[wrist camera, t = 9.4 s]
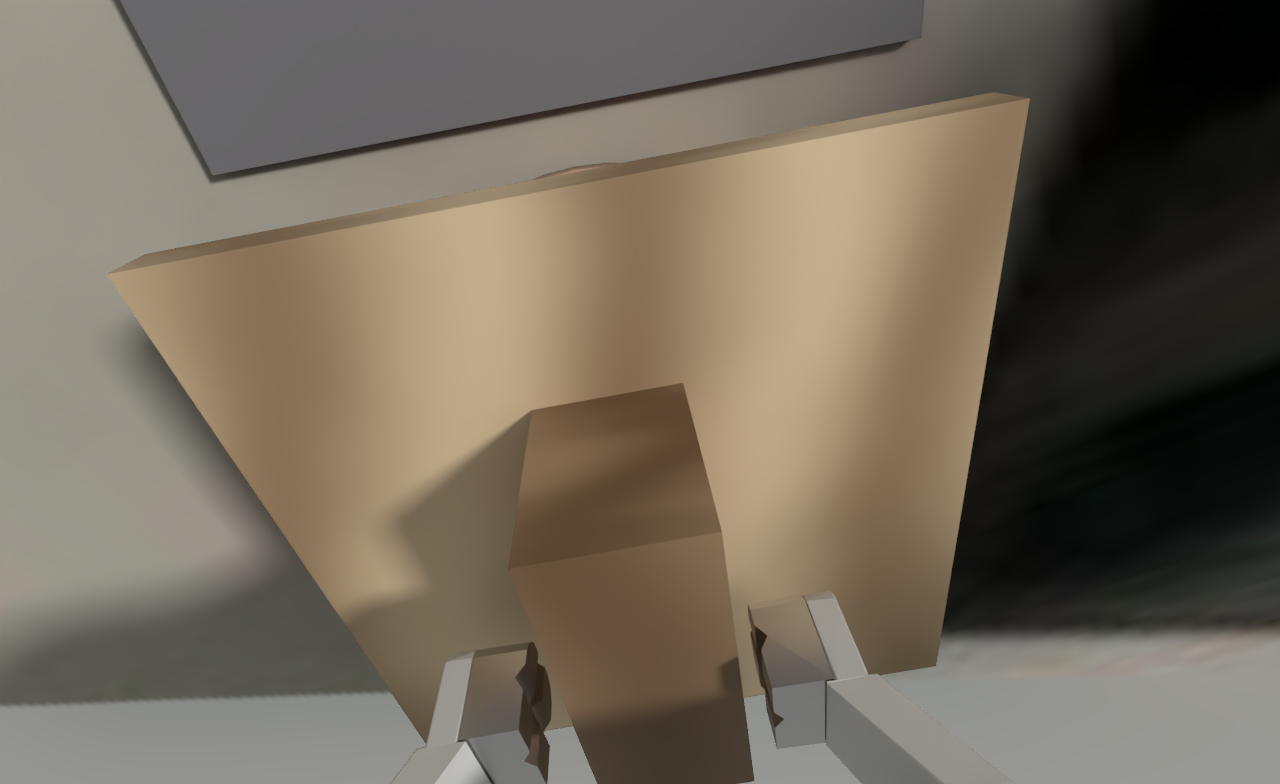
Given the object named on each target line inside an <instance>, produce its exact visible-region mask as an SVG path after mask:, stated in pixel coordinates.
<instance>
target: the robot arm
mask: <svg viewBox="0 0 1280 784" xmlns="http://www.w3.org/2000/svg"><path fill="white" fill-rule="evenodd" d="M748 617H749V621H750V625H751V629H752V631H751V632H750V636H751V643H752V649H753V655H754V660H755V665H756V669H757V673H758V677H759V681H760V685H761V687H762V688H764V689H765V697H766V706H767V712H768V716H769V720H770V724H771V728H772V731H773V735H774V739H775V743H776V746H777V749H779V748H787V747H795V746H802V745H809V744H817V743H824V742H826V745H827V746H828V747H829V748H830V749H831V751H832V752H834V754H835V755H836V756H837V757H838V758H839V759H840V760H841V761H842V763H843V764H844V765H845V766H846V767H847V768H848V769H849V770H850V771H851V772H852V773H853V774H854V775H855V777H856V778H857V779H858V780H859V781H860V782H861V783H862V784H1014V783H1013V782H1012V780H1010V779H1009V778H1008V777H1007V776H1005V775H1004V774H1003V773H1002V772H1000V771H999V770H998V769H996V768H995V767H994V766H993V765H992V764H990V763H989V762H988V761H987V760H985V759H984V758H983V757H982V756H980V755H979V754H978V753H977V752H975V751H974V750H973V749H972V748H970V747H969V746H968V745H966V744H965V743H964V742H963V741H961V740H960V739H959V738H958V737H956V736H955V735H954V734H953V733H951V732H950V731H949V730H948V729H946V728H945V727H944V726H943V725H941V724H940V723H939V722H937V721H936V720H935V719H934V718H933V717H931V716H930V715H929V714H928V713H926V712H925V711H924V710H923V709H921V708H920V707H919V706H918V705H916V704H915V703H914V702H913V701H911V700H910V699H909V698H907V697H906V696H905V695H904V694H902V693H901V692H900V691H899V690H897V689H896V688H895V687H894V686H892V685H891V684H890V683H889V682H887V681H886V680H885V679H884V678H882V677H881V676H880V675H879V674H877V673H876V674H868V672H867V670H866V667H865V665H864V663H863V660H862V658H861V656H860V653H859V651H858V649H857V647H856V644H855V642H854V640H853V637H852V635H851V633H850V630H849V628H848V626H847V623H846V621H845V619H844V616H843V614H842V612H841V609H840V607H839V605H838V602H837V600H836V598H835V596H834V594H833V593H832V592H831V591H829V590H828V591H823V592H817V593H812V594H807V595H802V596H801V595H796V596H790V597H785V598H780V599H774V600H769V601H763V602H758V603H753V604H748ZM551 710H552V700H551V687H550V682H549V678H548V674H547V672H546V669H545V667H544V666H542V665H540V664H538V651H537V648H536V646H535V644H534V642H527V643H520V644H514V645H507V646H500V647H493V648H487V649H480V650H472V651H466V652H460V653H454V654H450V655H449V657H448V659H447V661H446V663H445V665H444V669H443V674H442V678H441V682H440V687H439V691H438V695H437V699H436V704H435V708H434V712H433V717H432V721H431V725H430V730H429V734H428V738H427V743H426V747H424V748H419V749H417V750H416V752H414V754H413V755H412V756H411V758H410V759H409V760H408V761H407V763H406V764H405V765H404V767H403V768H402V769H401V770H400V772H399V773H398V774H397V775H396V777H395V778H394V779H393V781H392V782H391V783H390V784H547V780H548V764H549V747H550V746H549V744H548V741H547V739H546V737H545V735H544V733H543V732H544V730H545V729H546V727H547V726H548V724H549V723H550V721H551Z"/></svg>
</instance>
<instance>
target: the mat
mask: <svg viewBox="0 0 1280 784" xmlns="http://www.w3.org/2000/svg"><path fill="white" fill-rule="evenodd" d="M120 2H121V4H122V5H123V7H124V9H125V11H126V13H127V15H128V17H129V19H130V20H131V22H132V24H133V26H134V28H135V30H136V32H137V34H138V36H139V37H140V39H141V41H142V43H143V45H144V47H145V49H146V51H147V52H148V54H149V56H150V58H151V60H152V62H153V64H154V66H155V68H156V69H157V71H158V73H159V75H160V77H161V79H162V81H163V83H164V85H165V86H166V88H167V90H168V92H169V94H170V96H171V98H172V100H173V101H174V103H175V105H176V107H177V109H178V111H179V113H180V115H181V117H182V118H183V120H184V122H185V124H186V126H187V128H188V130H189V132H190V133H191V135H192V137H193V139H194V141H195V143H196V145H197V147H198V149H199V150H200V152H201V154H202V156H203V158H204V160H205V162H206V164H207V166H208V167H209V169H210V171H211V173H212V175H218V174H223V173H228V172H233V171H238V170H243V169H249V168H254V167H259V166H264V165H269V164H274V163H280V162H285V161H290V160H295V159H300V158H305V157H310V156H316V155H321V154H326V153H331V152H336V151H341V150H346V149H352V148H357V147H362V146H367V145H372V144H377V143H382V142H388V141H393V140H398V139H403V138H408V137H413V136H418V135H424V134H429V133H434V132H439V131H444V130H449V129H454V128H460V127H465V126H470V125H475V124H480V123H485V122H490V121H496V120H501V119H506V118H511V117H516V116H521V115H526V114H532V113H537V112H542V111H547V110H552V109H557V108H562V107H568V106H573V105H578V104H583V103H588V102H593V101H598V100H604V99H609V98H614V97H619V96H624V95H629V94H634V93H640V92H645V91H650V90H655V89H660V88H665V87H670V86H676V85H681V84H686V83H691V82H696V81H701V80H707V79H712V78H717V77H722V76H727V75H732V74H737V73H743V72H748V71H753V70H758V69H763V68H768V67H773V66H779V65H784V64H789V63H794V62H799V61H804V60H809V59H815V58H820V57H825V56H830V55H835V54H840V53H845V52H851V51H856V50H861V49H866V48H871V47H876V46H881V45H887V44H892V43H897V42H902V41H907V40H912V39H917V38H921V33H922V19H923V6H924V0H120Z"/></svg>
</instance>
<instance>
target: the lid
mask: <svg viewBox="0 0 1280 784" xmlns="http://www.w3.org/2000/svg"><path fill="white" fill-rule="evenodd" d="M1029 102H1030V98H1025V97H1019V96H1013V95H1007V94H1001V93H995V92H991V93H986V94H981V95H976V96H970V97H965V98H960V99H955V100H949V101H944V102H939V103H934V104H928V105H923V106H918V107H913V108H908V109H902V110H897V111H892V112H887V113H881V114H876V115H871V116H866V117H860V118H855V119H850V120H845V121H840V122H834V123H829V124H824V125H819V126H813V127H808V128H803V129H798V130H792V131H787V132H782V133H777V134H772V135H766V136H761V137H756V138H751V139H745V140H740V141H735V142H730V143H725V144H719V145H714V146H709V147H704V148H698V149H693V150H688V151H683V152H677V153H672V154H667V155H662V156H657V157H651V158H646V159H641V160H636V161H630V162H625V163H620V164H615V165H609V166H604V167H599V168H594V169H589V170H583V171H578V172H573V173H568V174H562V175H557V176H552V177H547V178H541V179H536V180H531V181H526V182H521V183H515V184H510V185H505V186H500V187H494V188H489V189H484V190H479V191H473V192H468V193H463V194H458V195H453V196H447V197H442V198H437V199H432V200H426V201H421V202H416V203H411V204H405V205H400V206H395V207H390V208H385V209H379V210H374V211H369V212H364V213H358V214H353V215H348V216H343V217H337V218H332V219H327V220H322V221H317V222H311V223H306V224H301V225H296V226H290V227H285V228H280V229H275V230H269V231H264V232H259V233H254V234H249V235H243V236H238V237H233V238H228V239H222V240H217V241H212V242H207V243H201V244H196V245H191V246H186V247H181V248H175V249H170V250H165V251H160V252H154V253H149V254H145V255H143V256H141V257H139V258H137V259H135V260H133V261H131V262H129V263H127V264H125V265H123V266H122V267H120V268H118V269H116V270H114V271H112V272H110V273H108V274H106V275H107V276H108V278H109V279H110V281H111V282H112V284H113V285H114V286H115V288H116V289H117V291H118V292H119V294H120V295H121V297H122V298H123V300H124V301H125V303H126V304H127V306H128V307H129V308H130V310H131V311H132V313H133V314H134V316H135V317H136V319H137V320H138V322H139V323H140V325H141V326H142V328H143V329H144V330H145V332H146V333H147V335H148V336H149V338H150V339H151V341H152V342H153V344H154V345H155V347H156V348H157V350H158V351H159V353H160V354H161V355H162V357H163V358H164V360H165V361H166V363H167V364H168V366H169V367H170V369H171V370H172V372H173V373H174V375H175V376H176V377H177V379H178V380H179V382H180V383H181V385H182V386H183V388H184V389H185V391H186V392H187V394H188V395H189V397H190V398H191V399H192V401H193V402H194V404H195V405H196V407H197V408H198V410H199V411H200V413H201V414H202V416H203V417H204V419H205V420H206V421H207V423H208V424H209V426H210V427H211V429H212V430H213V432H214V433H215V435H216V436H217V438H218V439H219V441H220V442H221V443H222V445H223V446H224V448H225V449H226V451H227V452H228V454H229V455H230V457H231V458H232V460H233V461H234V463H235V464H236V465H237V467H238V468H239V470H240V471H241V473H242V474H243V476H244V477H245V479H246V480H247V482H248V483H249V485H250V486H251V488H252V489H253V490H254V492H255V493H256V495H257V496H258V498H259V499H260V501H261V502H262V504H263V505H264V507H265V508H266V510H267V511H268V512H269V514H270V515H271V517H272V518H273V520H274V521H275V523H276V524H277V526H278V527H279V529H280V530H281V532H282V533H283V534H284V536H285V537H286V539H287V540H288V542H289V543H290V545H291V546H292V548H293V549H294V551H295V552H296V554H297V555H298V556H299V558H300V559H301V561H302V562H303V564H304V565H305V567H306V568H307V570H308V571H309V573H310V574H311V576H312V577H313V578H314V580H315V581H316V583H317V584H318V586H319V587H320V589H321V590H322V592H323V593H324V595H325V596H326V598H327V599H328V601H329V602H330V603H331V605H332V606H333V608H334V609H335V611H336V612H337V614H338V615H339V617H340V618H341V620H342V621H343V623H344V624H345V625H346V627H347V628H348V630H349V631H350V633H351V634H352V636H353V637H354V639H355V640H356V642H357V643H358V645H359V646H360V647H361V649H362V650H363V652H364V653H365V655H366V656H367V658H368V659H369V661H370V662H371V664H372V665H373V667H374V668H375V669H376V671H377V672H378V674H379V675H380V677H381V678H382V680H383V681H384V683H385V684H386V686H387V687H388V689H389V690H390V691H391V693H392V694H393V696H394V697H395V699H396V700H397V702H398V703H399V705H400V706H401V708H402V709H403V711H404V712H405V714H406V715H407V716H408V718H409V719H410V721H411V722H412V724H413V725H414V727H415V728H416V730H417V731H418V733H419V734H420V736H421V737H422V738H423V740H424V741H425V743H427V738H428V734H429V730H430V725H431V721H432V717H433V712H434V708H435V704H436V699H437V695H438V691H439V687H440V682H441V678H442V674H443V669H444V665H445V663H446V661H447V659H448V657H449V655H450V654H454V653H460V652H466V651H472V650H480V649H487V648H493V647H500V646H507V645H514V644H520V643H527V642H534V644H535V646H536V648H537V651H538V664H540V665H542V666H544V667H545V669H546V672H547V674H548V678H549V682H550V687H551V700H552V710H551V721H550V723H549V724H548V726H547V727H546V729H545V730H544V731H546V730H552V729H558V728H564V727H570V726H574V729H575V731H576V733H577V736H578V738H579V741H580V743H581V745H582V748H583V750H584V753H585V755H586V757H587V760H588V762H589V765H590V767H591V769H592V772H593V774H594V776H595V779H596V781H597V784H738V783H744V782H751V781H754V775H753V768H752V760H751V752H750V744H749V737H748V729H747V722H746V714H745V706H744V699H743V698H745V697H751V696H757V695H763V694H765V689H764V688H762V687H761V685H760V681H759V677H758V673H757V669H756V665H755V660H754V655H753V649H752V643H751V636H750V632H751V631H752V629H751V625H750V621H749V617H748V604H753V603H758V602H763V601H769V600H774V599H780V598H785V597H790V596H796V595H801V596H802V595H807V594H812V593H817V592H823V591H828V590H829V591H831V592H832V593H833V594H834V596H835V598H836V600H837V602H838V605H839V607H840V609H841V612H842V614H843V616H844V619H845V621H846V623H847V626H848V628H849V630H850V633H851V635H852V637H853V640H854V642H855V644H856V647H857V649H858V651H859V653H860V656H861V658H862V660H863V663H864V665H865V667H866V670H867V672H868V674H876V673H877V674H879V675H884V674H890V673H896V672H902V671H908V670H914V669H920V668H926V667H932V666H936V662H937V656H938V650H939V644H940V638H941V632H942V626H943V620H944V614H945V608H946V602H947V596H948V589H949V583H950V577H951V571H952V565H953V559H954V553H955V547H956V541H957V535H958V529H959V523H960V517H961V511H962V505H963V499H964V493H965V487H966V481H967V475H968V469H969V463H970V457H971V451H972V445H973V439H974V433H975V427H976V421H977V415H978V409H979V403H980V397H981V391H982V385H983V379H984V373H985V367H986V361H987V355H988V349H989V343H990V337H991V331H992V325H993V319H994V313H995V307H996V301H997V295H998V289H999V283H1000V276H1001V270H1002V264H1003V258H1004V252H1005V246H1006V240H1007V234H1008V228H1009V222H1010V216H1011V210H1012V204H1013V198H1014V192H1015V186H1016V180H1017V174H1018V168H1019V162H1020V156H1021V150H1022V144H1023V138H1024V132H1025V126H1026V120H1027V114H1028V108H1029Z"/></svg>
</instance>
